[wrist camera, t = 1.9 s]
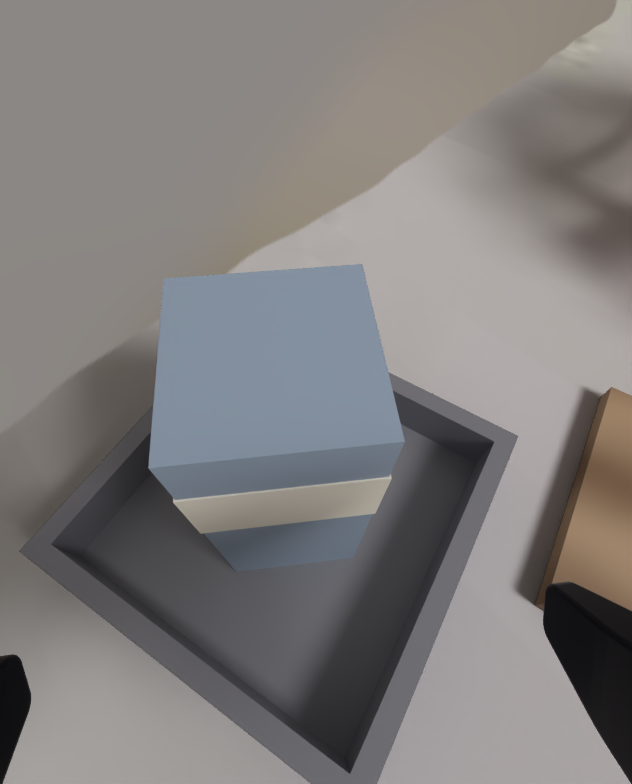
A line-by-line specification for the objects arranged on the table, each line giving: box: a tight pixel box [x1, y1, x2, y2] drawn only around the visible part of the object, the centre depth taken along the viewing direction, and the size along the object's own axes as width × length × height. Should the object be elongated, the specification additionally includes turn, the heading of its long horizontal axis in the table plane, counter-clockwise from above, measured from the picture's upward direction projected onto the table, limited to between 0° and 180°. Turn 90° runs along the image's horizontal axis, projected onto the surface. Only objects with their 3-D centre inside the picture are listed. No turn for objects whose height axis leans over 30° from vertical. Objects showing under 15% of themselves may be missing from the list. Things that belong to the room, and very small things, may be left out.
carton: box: [148, 264, 405, 572], centre depth 15 cm, size 5×5×12 cm
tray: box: [19, 372, 518, 784], centre depth 19 cm, size 15×15×3 cm
